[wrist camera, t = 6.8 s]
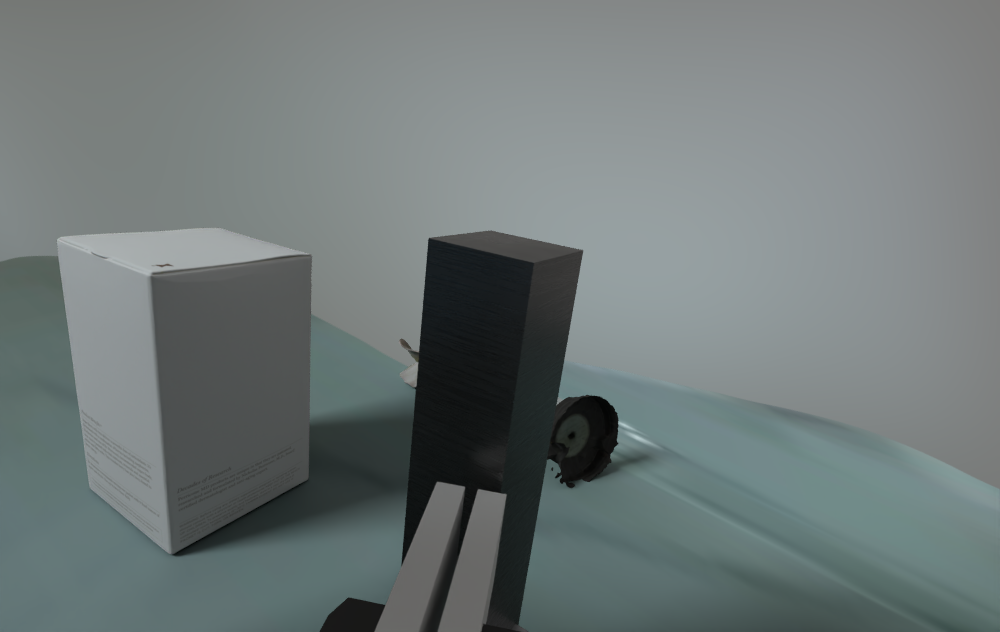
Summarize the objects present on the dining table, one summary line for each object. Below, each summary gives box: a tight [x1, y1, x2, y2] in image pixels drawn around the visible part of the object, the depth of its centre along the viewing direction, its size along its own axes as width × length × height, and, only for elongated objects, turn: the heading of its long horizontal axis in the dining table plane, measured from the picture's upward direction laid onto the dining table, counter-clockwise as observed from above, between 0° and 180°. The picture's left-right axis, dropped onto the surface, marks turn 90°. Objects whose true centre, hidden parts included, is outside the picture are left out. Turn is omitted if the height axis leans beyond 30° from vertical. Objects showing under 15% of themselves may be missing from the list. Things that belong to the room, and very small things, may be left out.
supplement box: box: [57, 228, 312, 554], centre depth 30 cm, size 9×9×15 cm
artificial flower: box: [399, 339, 618, 488], centre depth 44 cm, size 9×22×10 cm, turn 35°
